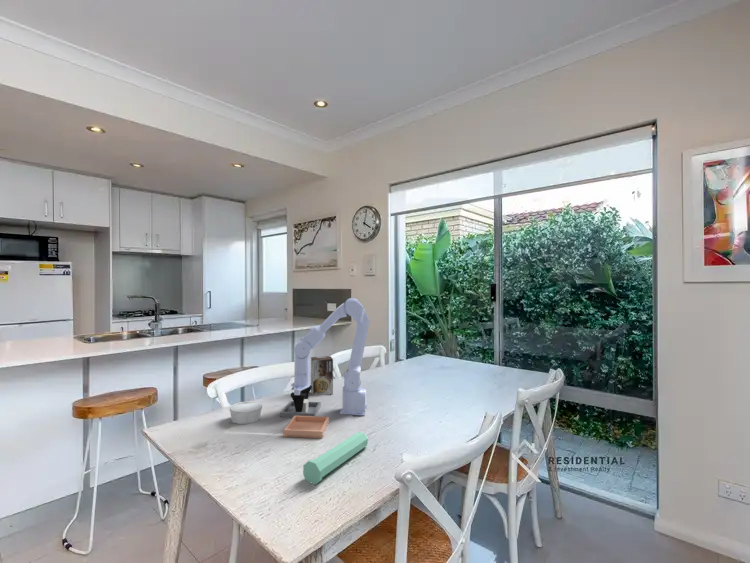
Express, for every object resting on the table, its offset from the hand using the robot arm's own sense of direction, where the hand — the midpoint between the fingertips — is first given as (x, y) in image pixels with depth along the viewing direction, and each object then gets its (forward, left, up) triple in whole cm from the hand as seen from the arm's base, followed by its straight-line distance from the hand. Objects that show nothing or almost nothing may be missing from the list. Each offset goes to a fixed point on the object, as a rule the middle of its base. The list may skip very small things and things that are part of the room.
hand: (301, 408), depth 139 cm
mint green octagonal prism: (-20, +36, -2) cm, 41 cm away
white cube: (0, 0, -1) cm, 1 cm away
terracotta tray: (-6, +15, -2) cm, 16 cm away
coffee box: (-3, -24, -2) cm, 24 cm away
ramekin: (+18, +9, -2) cm, 20 cm away
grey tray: (0, 0, -2) cm, 2 cm away
